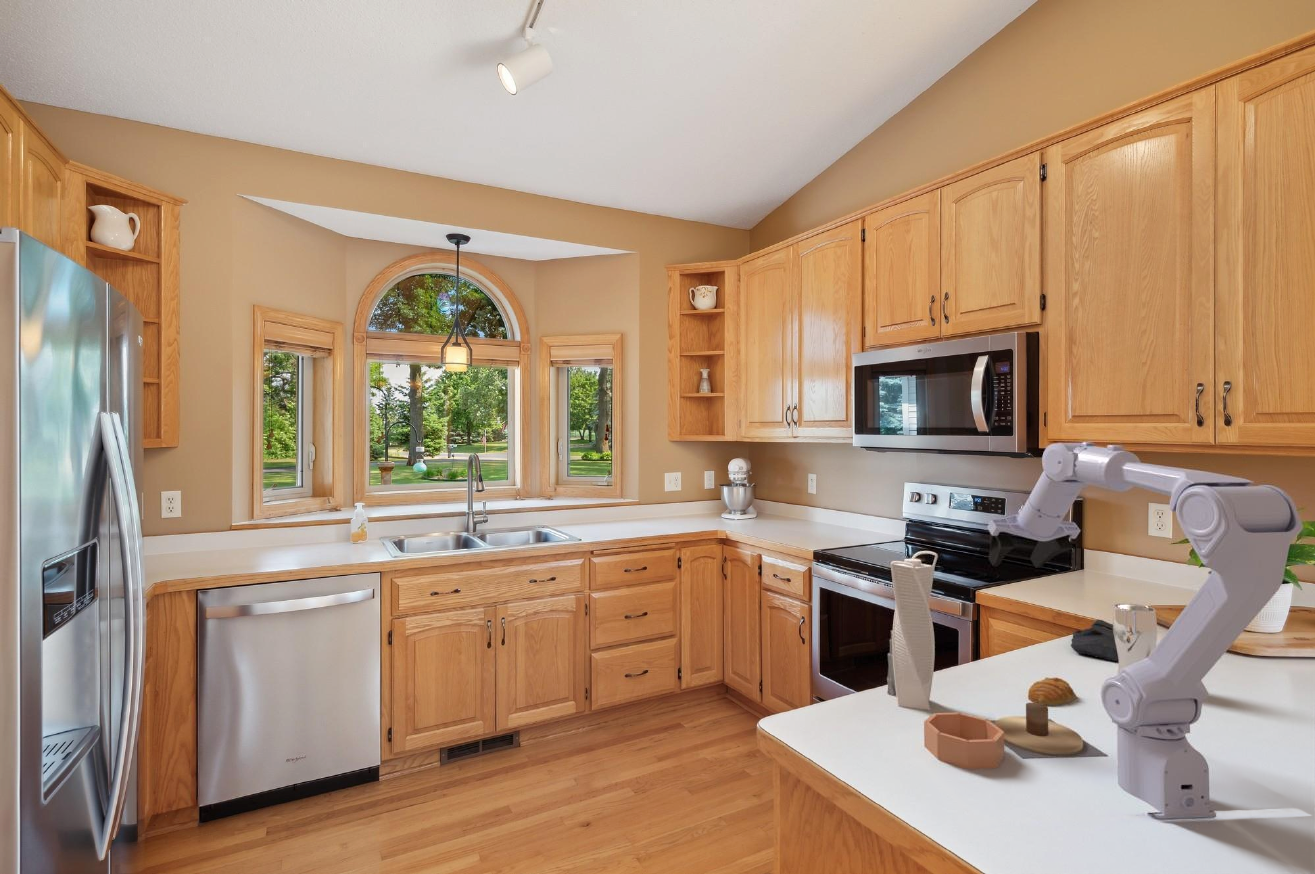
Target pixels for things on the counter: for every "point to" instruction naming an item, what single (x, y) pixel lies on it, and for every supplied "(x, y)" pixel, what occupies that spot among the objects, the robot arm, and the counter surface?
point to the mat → (1085, 752)
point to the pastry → (1051, 692)
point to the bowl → (964, 740)
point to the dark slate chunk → (1096, 641)
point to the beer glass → (1134, 633)
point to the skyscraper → (912, 633)
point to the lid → (1039, 732)
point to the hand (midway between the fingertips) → (1013, 562)
